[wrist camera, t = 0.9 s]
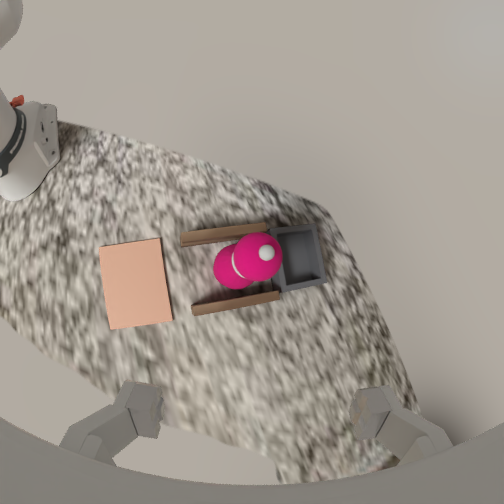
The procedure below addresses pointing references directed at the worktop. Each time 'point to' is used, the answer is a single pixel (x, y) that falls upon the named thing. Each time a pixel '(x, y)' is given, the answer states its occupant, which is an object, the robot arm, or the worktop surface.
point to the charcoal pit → (298, 258)
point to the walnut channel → (221, 236)
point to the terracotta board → (134, 284)
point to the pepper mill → (248, 261)
